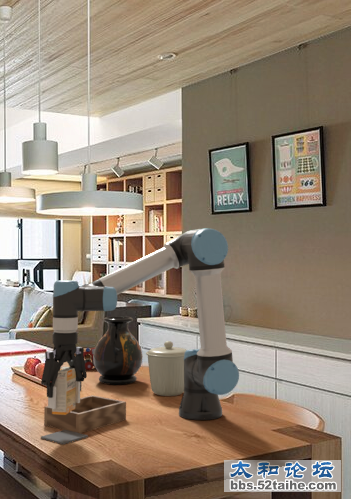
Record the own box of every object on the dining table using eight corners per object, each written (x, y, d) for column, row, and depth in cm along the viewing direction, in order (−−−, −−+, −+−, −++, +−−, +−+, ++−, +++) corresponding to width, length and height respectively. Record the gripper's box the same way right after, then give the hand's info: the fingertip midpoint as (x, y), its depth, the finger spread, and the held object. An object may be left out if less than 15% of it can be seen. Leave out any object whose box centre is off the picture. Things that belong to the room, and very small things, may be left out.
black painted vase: (136, 387, 273) (136, 320, 273) (86, 385, 276) (87, 319, 276) (146, 378, 294) (147, 315, 294) (100, 376, 297) (101, 314, 297)
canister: (200, 393, 261) (200, 341, 261) (167, 400, 249) (167, 345, 249) (169, 387, 274) (169, 337, 274) (136, 393, 262) (136, 340, 262)
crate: (92, 412, 230) (92, 395, 230) (125, 419, 220) (126, 401, 220) (44, 425, 213) (44, 406, 213) (78, 433, 203) (78, 414, 203)
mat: (87, 437, 199) (87, 435, 199) (63, 444, 191) (63, 442, 191) (65, 431, 205) (65, 429, 205) (40, 438, 197) (40, 436, 197)
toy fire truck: (78, 368, 318) (78, 347, 318) (103, 367, 322) (103, 345, 322) (81, 370, 311) (81, 349, 311) (106, 369, 315) (106, 347, 315)
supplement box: (66, 415, 194) (67, 371, 194) (51, 414, 195) (51, 370, 195) (76, 409, 202) (76, 366, 202) (61, 408, 203) (62, 366, 203)
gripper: (82, 327, 209) (81, 397, 209) (28, 333, 192) (27, 409, 192) (99, 329, 205) (98, 400, 205) (45, 335, 187) (44, 413, 187)
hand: (64, 405), depth 198 cm, fingers closed on supplement box, 9 cm apart
